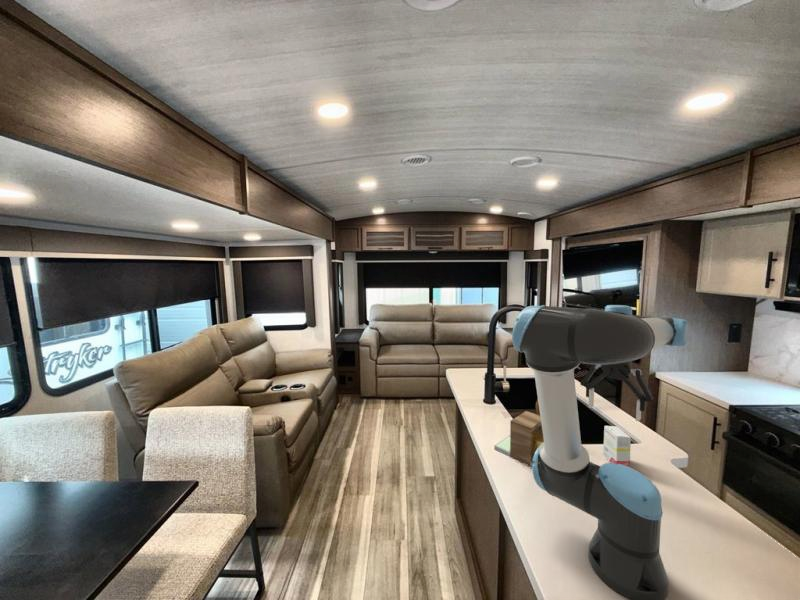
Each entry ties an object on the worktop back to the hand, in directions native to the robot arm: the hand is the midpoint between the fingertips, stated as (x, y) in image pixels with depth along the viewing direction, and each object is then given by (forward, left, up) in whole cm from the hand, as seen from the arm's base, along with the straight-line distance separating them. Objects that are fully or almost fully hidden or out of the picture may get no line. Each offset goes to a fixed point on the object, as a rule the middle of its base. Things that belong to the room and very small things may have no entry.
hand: (613, 413), depth 104 cm
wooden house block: (-9, +25, -23) cm, 35 cm away
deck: (-9, +26, -23) cm, 35 cm away
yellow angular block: (-9, +16, -21) cm, 27 cm away
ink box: (+11, +1, -23) cm, 26 cm away
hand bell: (+9, +29, -23) cm, 39 cm away
